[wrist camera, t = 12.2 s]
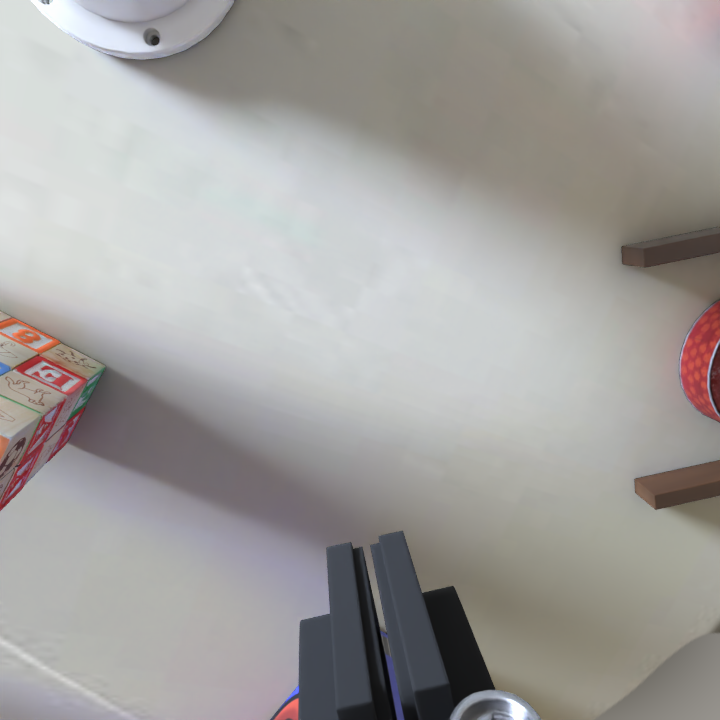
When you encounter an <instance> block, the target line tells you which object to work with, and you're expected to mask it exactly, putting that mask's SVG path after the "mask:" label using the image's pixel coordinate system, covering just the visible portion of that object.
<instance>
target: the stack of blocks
mask: <svg viewBox="0 0 720 720" xmlns="http://www.w3.org/2000/svg"><path fill="white" fill-rule="evenodd" d="M104 370H105V365H103V364H101V363H99V362H97V361H95V360H93V359H92V358H90V357H88V356H86V355H84V354H82V353H80V352H78V351H76V350H74V349H72V348H70V347H68V346H66V345H64V344H61V342H60V341H58V340H57V339H55V338H53V337H51V336H49V335H47V334H45V333H43V332H41V331H39V330H37V329H35V328H33V327H31V326H29V325H27V324H25V323H23V322H21V321H19V320H17V319H14V318H12V317H11V316H9V315H7V314H5V313H3V312H2V311H0V511H1V510H2V509H3V508H4V507H5V506H6V505H7V504H8V503H9V502H10V501H11V499H13V498H14V497H15V496H16V495H17V494H18V493H19V492H20V491H21V489H22V488H23V487H24V485H25V484H26V483H27V482H28V481H29V480H30V479H31V478H32V477H33V476H34V475H35V474H36V473H37V472H38V471H39V470H40V469H41V468H42V467H43V465H44V464H45V463H47V462H48V461H49V460H50V459H51V458H52V457H53V456H55V454H56V453H57V452H58V451H59V450H61V449H62V448H63V447H64V446H65V445H66V443H67V441H68V440H69V438H70V436H71V434H72V432H73V430H74V429H75V427H76V425H77V423H78V421H79V419H80V417H81V415H82V413H83V411H84V409H85V405H86V403H87V402H88V400H89V398H90V396H91V394H92V392H93V390H94V388H95V387H96V385H97V383H98V381H99V379H100V377H101V375H102V373H103V372H104Z"/></svg>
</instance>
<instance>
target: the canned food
mask: <svg viewBox="0 0 720 720" xmlns="http://www.w3.org/2000/svg"><path fill="white" fill-rule="evenodd" d="M679 376H680V381H681V386H682V388H683V391H684V393H685V395H686V397H687V399H688V400H689V401H690V403H691V404H692V405H693V407H694V408H696V409H697V410H698V411H699V412H701V413H702V414H703V415H705V416H708V417H710V418H712V419H714V420H716V421H718V422H720V300H718V301H716V302H715V303H713V304H712V305H711V306H710V307H709V308H708V309H706V310H705V311H704V312H703V313H702V314H701V316H700V317H699V318H698V319H697V320H696V322H695V323H694V324H693V326H692V328H691V329H690V331H689V333H688V334H687V336H686V339H685V342H684V344H683V347H682V350H681V355H680V361H679Z"/></svg>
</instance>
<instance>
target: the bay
mask: <svg viewBox="0 0 720 720" xmlns="http://www.w3.org/2000/svg"><path fill="white" fill-rule="evenodd" d="M719 252H720V227H715V228H710V229H705V230H700V231H695V232H690V233H685V234H680V235H675V236H670V237H665V238H661V239H656V240H651V241H646V242H641V243H636V244H631V245H626V246H622V263H623V264H625V265H631V266H638V267H644V268H645V267H650V266H655V265H660V264H665V263H670V262H675V261H680V260H685V259H689V258H694V257H699V256H704V255H709V254H714V253H719ZM635 493H636V494H637V495H639V496H640V497H641V498H642V499H643V500H645V501H646V502H647V503H648V504H649V505H651V506H652V507H653V508H654V509H655V510H657V509H661V508H666V507H670V506H675V505H679V504H684V503H688V502H693V501H697V500H702V499H706V498H711V497H715V496H720V460H718V461H713V462H709V463H704V464H700V465H695V466H691V467H686V468H682V469H677V470H673V471H668V472H664V473H659V474H654V475H650V476H645V477H641V478H636V479H635Z"/></svg>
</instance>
